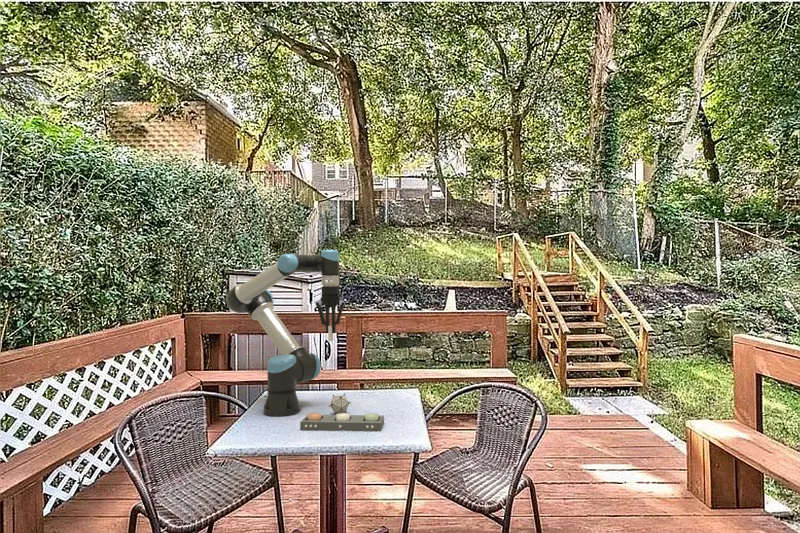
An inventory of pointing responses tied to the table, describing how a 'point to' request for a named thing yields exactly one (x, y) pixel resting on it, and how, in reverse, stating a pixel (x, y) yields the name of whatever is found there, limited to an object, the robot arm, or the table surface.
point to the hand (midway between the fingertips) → (330, 340)
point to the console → (342, 423)
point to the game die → (339, 404)
